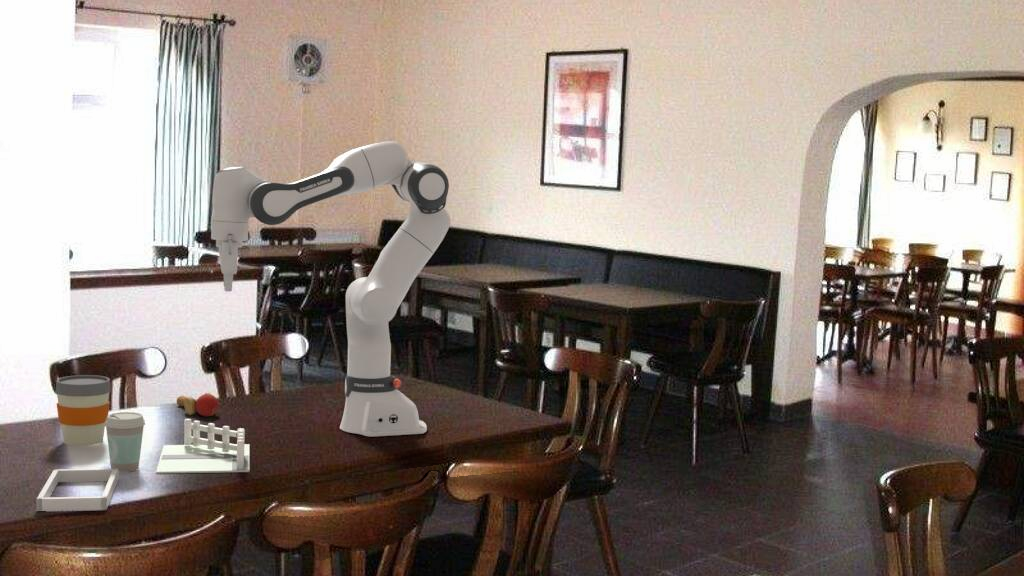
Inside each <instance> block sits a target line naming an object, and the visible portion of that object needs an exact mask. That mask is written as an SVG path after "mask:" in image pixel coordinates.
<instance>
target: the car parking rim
mask: <svg viewBox="0 0 1024 576" xmlns="http://www.w3.org/2000/svg"><path fill="white" fill-rule="evenodd" d="M118 481H119V472H118V468H113V469H111V468H71V469H70V468H67V469H66V468H59V469H56V468H55V469H53V470H52V473H51V474H50V475H49V477H48V479H47V480H46V482H45V484H44V485H43V487H42V489H41V491H40V492H39V494H38V496H37V497H36V507H35V508H36V510H35V511H46V512H76V511H77V512H78V511H79V512H83V511H87V512H88V511H107V510H108V507H109V505H110V502H111V499H112V497H113V494H114V491H115V489H116V486H117V483H118ZM77 482H78V483H81V482H107V483H106V486H105V488H104V490H103V493H102V495H101V496H99V495H97V496H59V497H58V496H57V497H55V496H52V494H53V493H54V491H55V489H56V487H57V485H58V483H77ZM52 492H53V493H52ZM62 510H63V511H62ZM67 510H68V511H67ZM72 510H73V511H72Z"/></svg>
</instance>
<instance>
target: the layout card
mask: <svg viewBox="0 0 1024 576" xmlns="http://www.w3.org/2000/svg"><path fill="white" fill-rule="evenodd" d="M235 444H236V445H237V443H235ZM207 448H208V446H207V445H202V444H200V446H198V447H195V446H193V444H191V445H184V444H163V446H162V450H161V453H160V457H159V461H158V464H157V467H156V471H155V474H160V475H161V474H203V473H204V474H206V473H207V474H209V473H211V474H213V473H215V474H216V473H219V474H220V473H250V443H248V444H247V443H244V469H242V470H238V469H237V451H234V450H229V452H222V448H218V447H214V449H212V450H211V449H207Z"/></svg>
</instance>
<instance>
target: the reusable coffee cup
mask: <svg viewBox="0 0 1024 576" xmlns="http://www.w3.org/2000/svg"><path fill="white" fill-rule="evenodd" d="M55 383H56V384H55V394H56V396H57V402H56V409H57V417H58V423H59V424H60V425H61V433H62V439H63V441H62V442H63V444H64V445H68V446H74V447H83V446H85V447H86V446H93V445H94V446H95V445H97V444H101V443H103V442H104V436H105V430H106V428H105V427H106V426H105V421H106V419H107V416H108V415H109V411H110V401H109V398H110V397H109V396H110V393H111V392H112V387H111V380H110V378H109V377H107V376H104V375H103V376H102V375H96V374H95V375H92V374H91V375H90V374H81V375H80V374H79V375H70V376H69V375H68V376H63V377H58V378H57V379H56V382H55Z"/></svg>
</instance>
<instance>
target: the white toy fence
mask: <svg viewBox="0 0 1024 576" xmlns="http://www.w3.org/2000/svg"><path fill="white" fill-rule="evenodd" d="M183 426H184V428H183V431H184V433H183V434H184V435H183V437H184V438H183V440H184V441H183V445H193V446H195V447H198V446H200V445H207V446H208V448H207V449H211V450H212V449H214V447H218V448H222V452H229V450H234V451H237V445H236V444H237V443H231V442H230V437H233V438H237V431H238V430H244V431H245V428H241V427H239V428H237V430H233V429H230V426H229V425H223V426H222V428H221V427H216V425H215V423H212V422H209V423H207V425H204V424H201V421H200V420H193V421H192V418H185V419H184V425H183ZM201 432H205V433H207V438H202V437H201ZM215 435H221V436H222V437H221V438H222V441H218V440H216V439H215ZM245 439H246V435H245V436H244V441H245Z"/></svg>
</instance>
